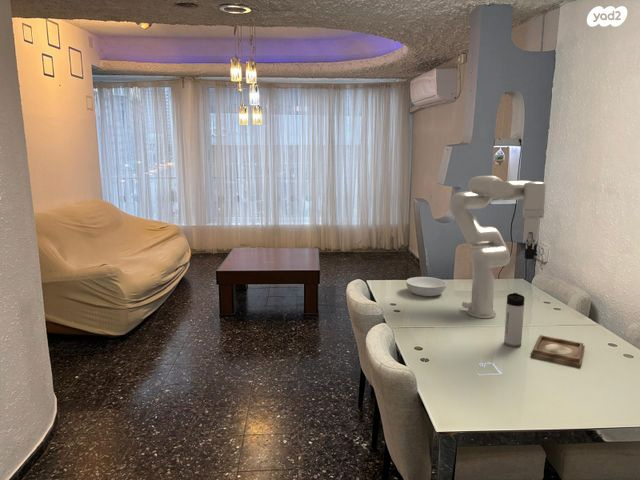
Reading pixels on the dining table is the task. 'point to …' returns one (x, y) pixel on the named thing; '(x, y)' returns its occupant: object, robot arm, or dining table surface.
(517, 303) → the travel mug
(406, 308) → the dining table surface
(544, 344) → the wooden tray
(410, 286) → the serving bowl
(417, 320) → the dining table surface
